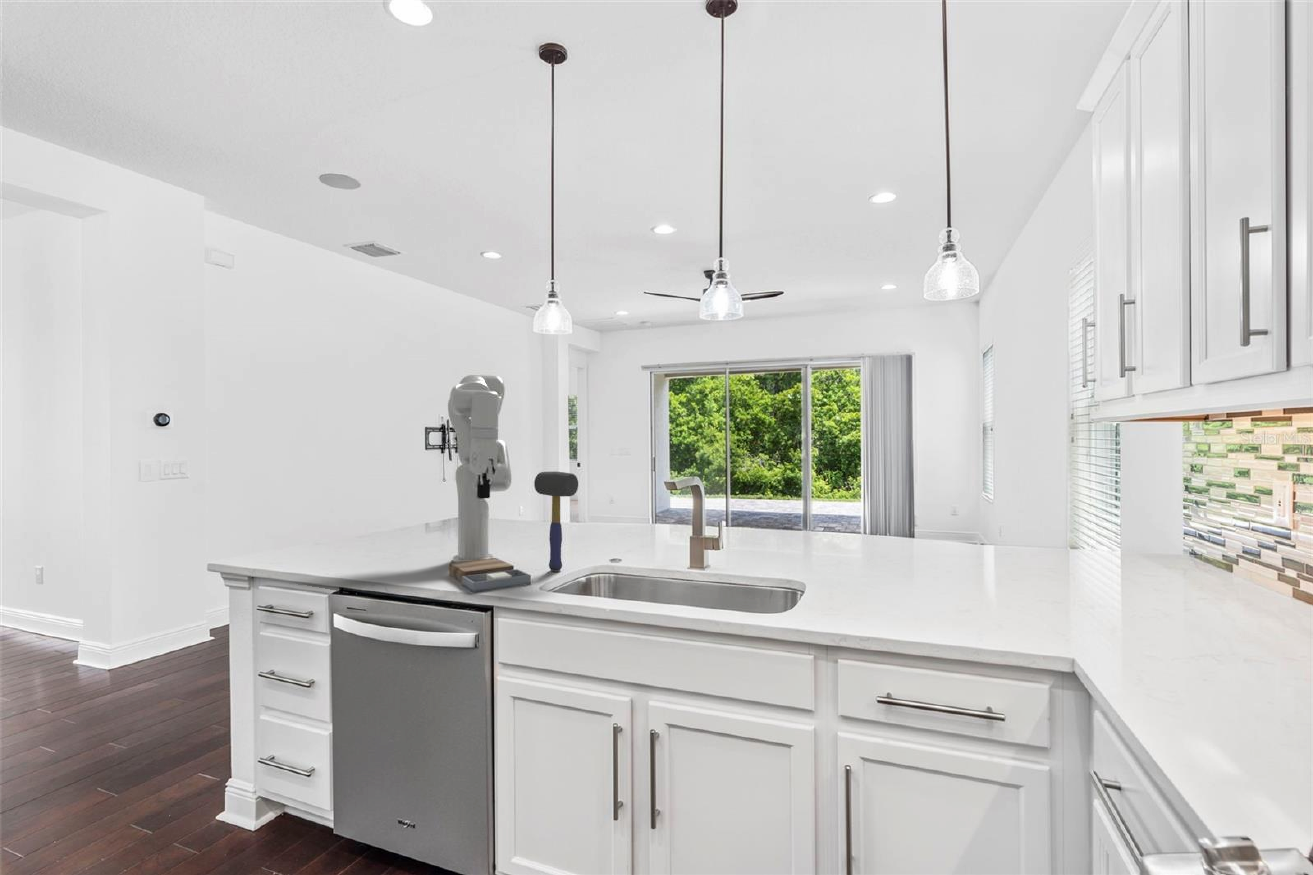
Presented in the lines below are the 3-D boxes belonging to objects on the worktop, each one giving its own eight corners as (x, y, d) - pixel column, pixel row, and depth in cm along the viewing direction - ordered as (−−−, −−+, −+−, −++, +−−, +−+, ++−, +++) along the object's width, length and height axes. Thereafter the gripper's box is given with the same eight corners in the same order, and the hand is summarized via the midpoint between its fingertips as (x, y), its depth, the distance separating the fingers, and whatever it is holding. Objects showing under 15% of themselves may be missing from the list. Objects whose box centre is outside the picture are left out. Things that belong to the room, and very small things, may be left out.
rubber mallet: (579, 571, 186) (580, 471, 186) (563, 576, 179) (564, 472, 179) (547, 566, 192) (548, 470, 192) (531, 570, 186) (532, 471, 186)
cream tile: (493, 577, 164) (493, 587, 164) (511, 575, 167) (511, 584, 167) (486, 574, 168) (486, 583, 168) (504, 572, 171) (504, 581, 171)
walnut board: (449, 575, 179) (449, 563, 179) (495, 569, 187) (495, 557, 187) (464, 584, 168) (465, 571, 168) (513, 578, 176) (513, 565, 176)
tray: (461, 585, 167) (462, 576, 167) (517, 577, 177) (517, 569, 177) (473, 592, 160) (473, 582, 160) (530, 584, 169) (530, 575, 169)
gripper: (462, 432, 180) (461, 495, 181) (481, 436, 168) (480, 502, 169) (487, 432, 184) (486, 493, 185) (507, 435, 172) (506, 500, 174)
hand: (483, 497), depth 177 cm, fingers closed
